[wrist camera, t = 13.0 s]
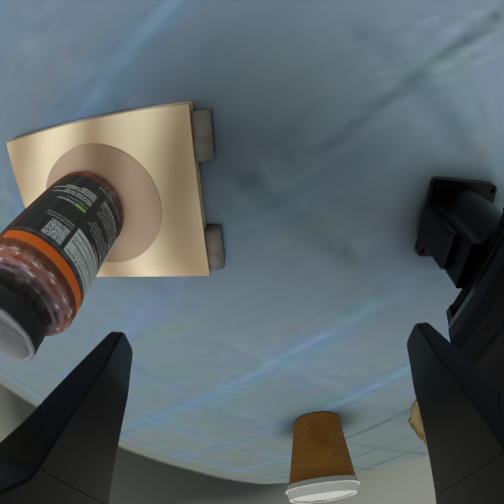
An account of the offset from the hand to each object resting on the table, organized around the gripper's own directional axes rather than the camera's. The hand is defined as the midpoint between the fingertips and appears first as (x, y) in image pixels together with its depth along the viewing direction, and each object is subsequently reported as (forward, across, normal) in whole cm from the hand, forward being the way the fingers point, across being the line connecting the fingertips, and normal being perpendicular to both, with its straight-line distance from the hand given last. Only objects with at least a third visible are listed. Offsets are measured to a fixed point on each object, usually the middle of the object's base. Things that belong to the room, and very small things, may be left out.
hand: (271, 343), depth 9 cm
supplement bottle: (+12, +12, +1) cm, 17 cm away
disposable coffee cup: (+13, -7, +35) cm, 38 cm away
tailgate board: (+13, +11, +1) cm, 17 cm away
